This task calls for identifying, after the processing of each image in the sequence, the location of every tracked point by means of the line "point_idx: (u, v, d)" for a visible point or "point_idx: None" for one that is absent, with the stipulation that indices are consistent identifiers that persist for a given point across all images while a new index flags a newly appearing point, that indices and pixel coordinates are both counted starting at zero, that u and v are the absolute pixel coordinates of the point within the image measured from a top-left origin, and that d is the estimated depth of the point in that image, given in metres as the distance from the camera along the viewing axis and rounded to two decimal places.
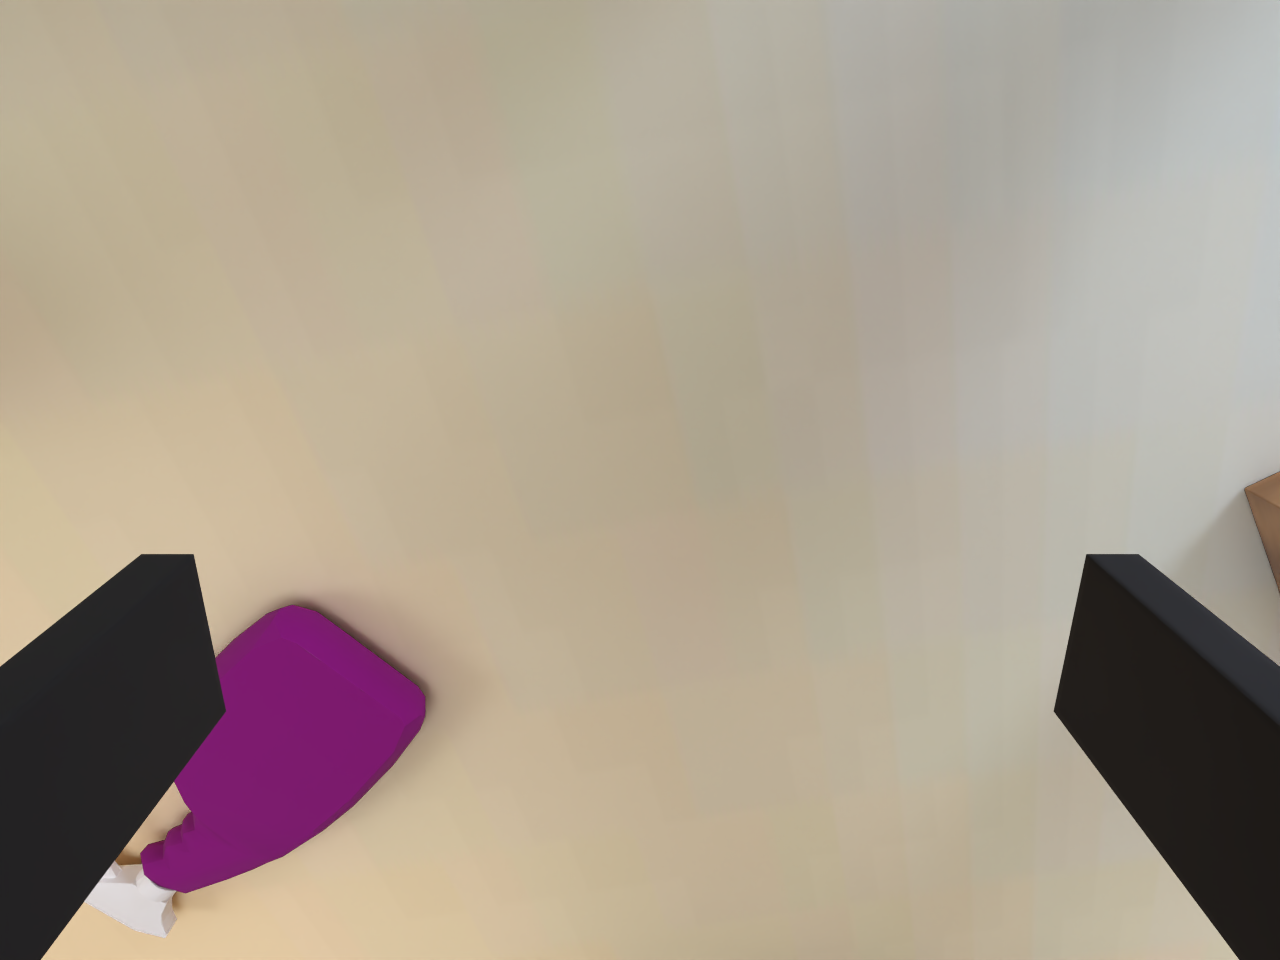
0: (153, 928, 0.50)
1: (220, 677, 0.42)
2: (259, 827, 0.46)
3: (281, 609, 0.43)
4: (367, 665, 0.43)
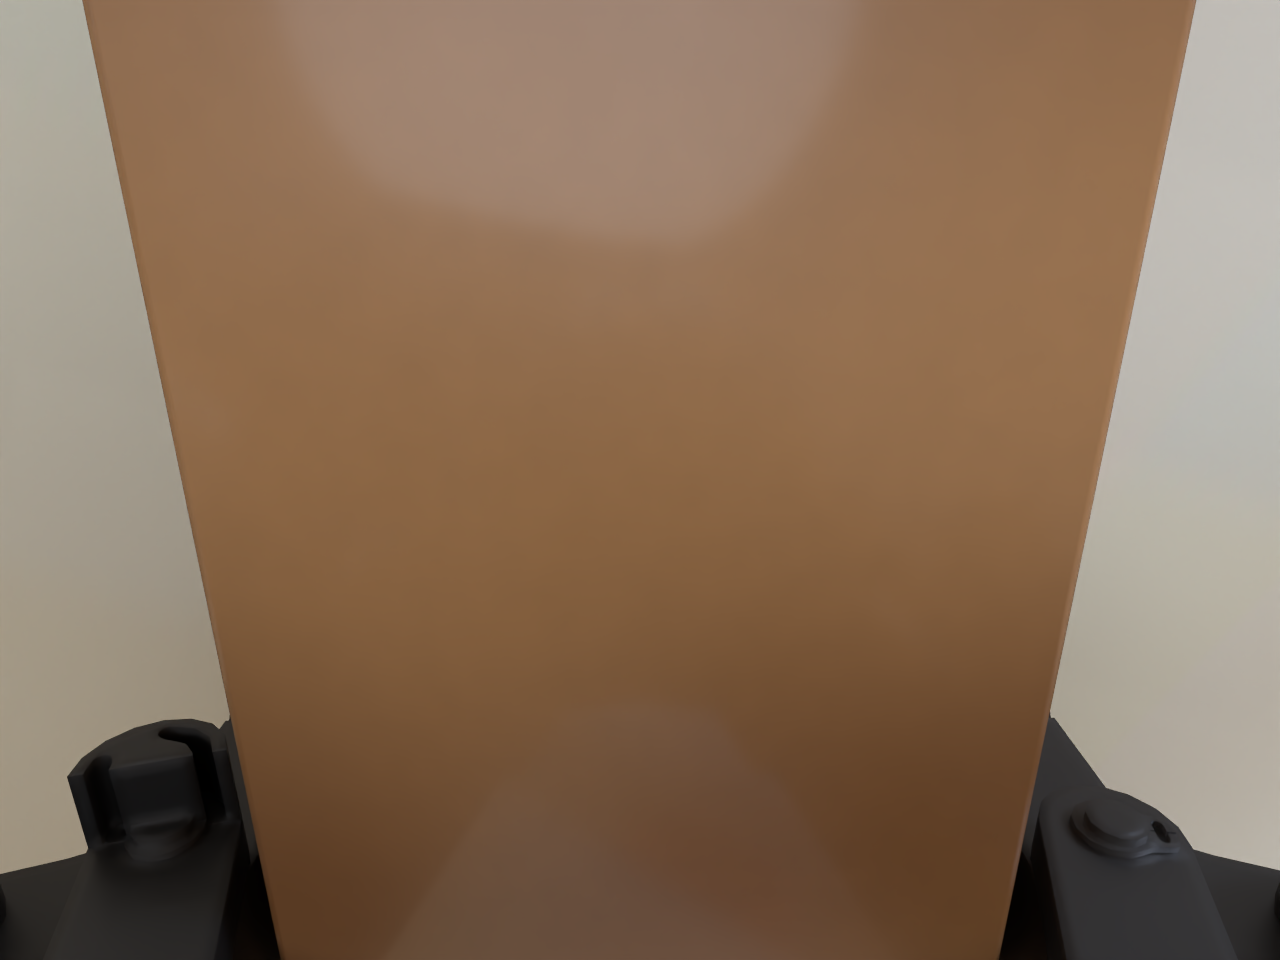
0: None
1: None
2: None
3: None
4: None
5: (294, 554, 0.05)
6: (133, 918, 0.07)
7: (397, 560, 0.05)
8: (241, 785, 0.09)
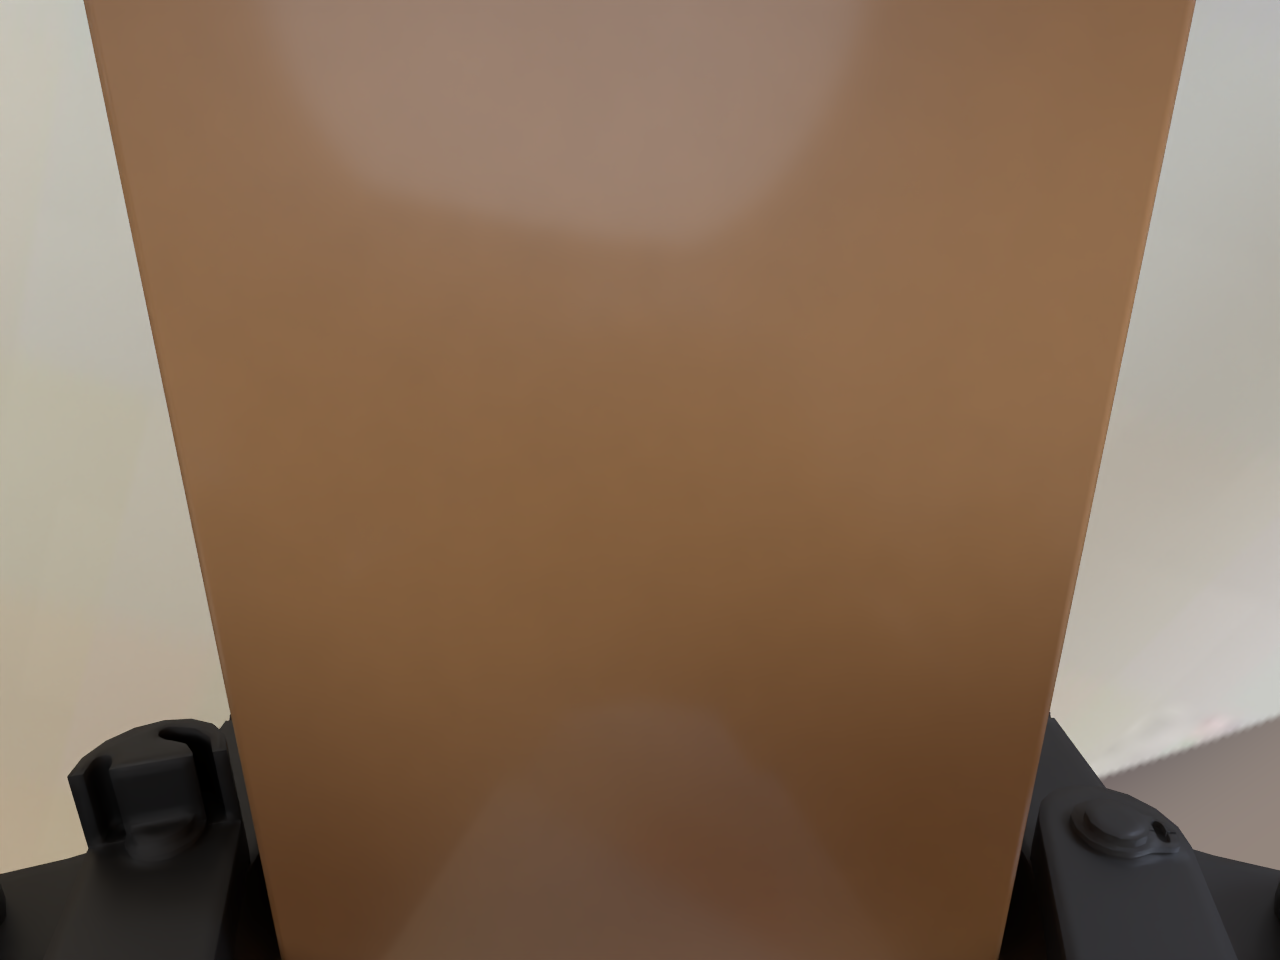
0: None
1: None
2: None
3: None
4: None
5: (295, 554, 0.05)
6: (133, 918, 0.07)
7: (399, 560, 0.05)
8: (241, 785, 0.09)
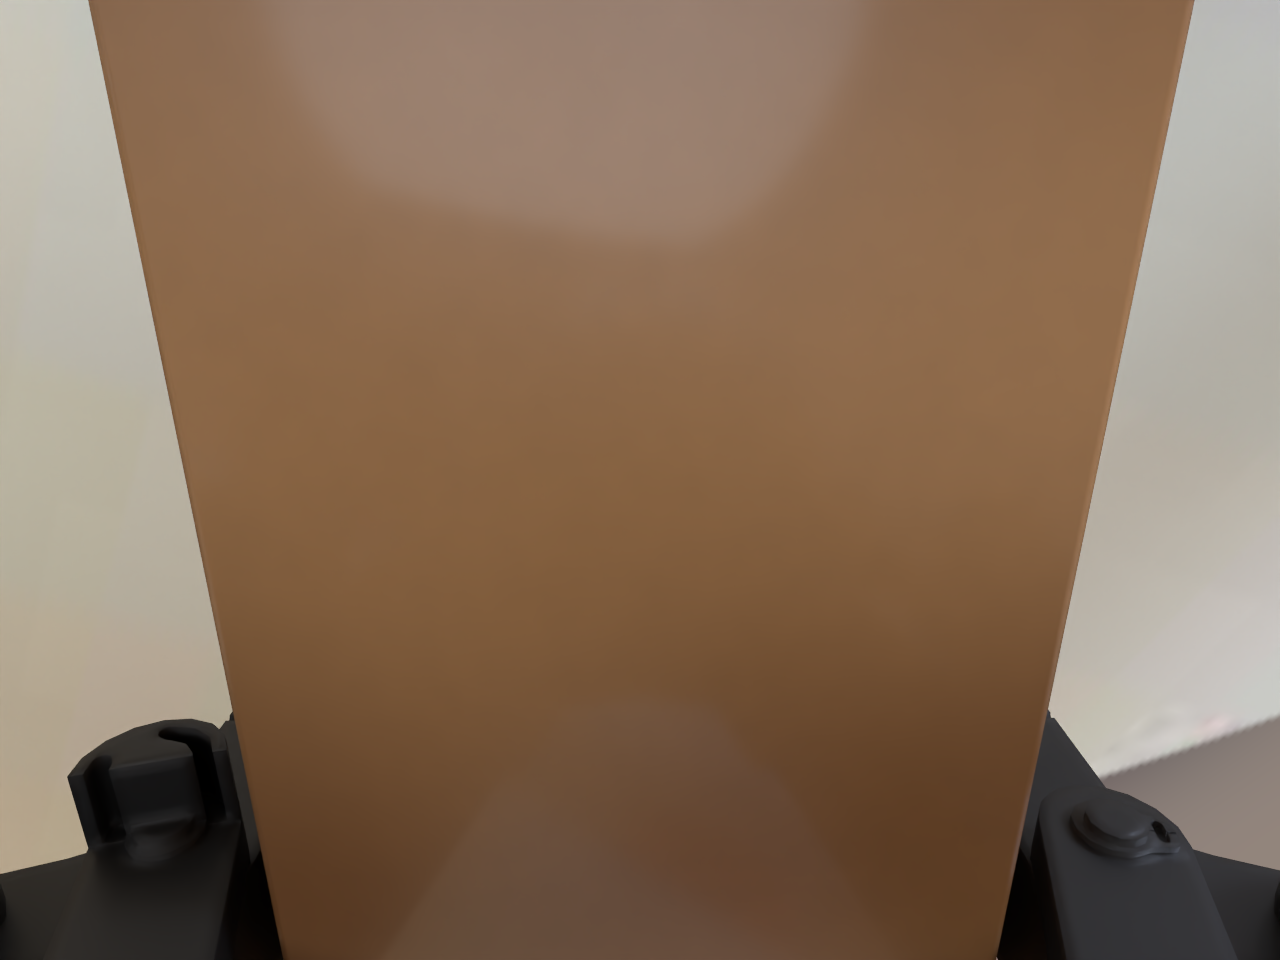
0: None
1: None
2: None
3: None
4: None
5: (297, 552, 0.05)
6: (133, 918, 0.07)
7: (400, 557, 0.05)
8: (241, 785, 0.09)
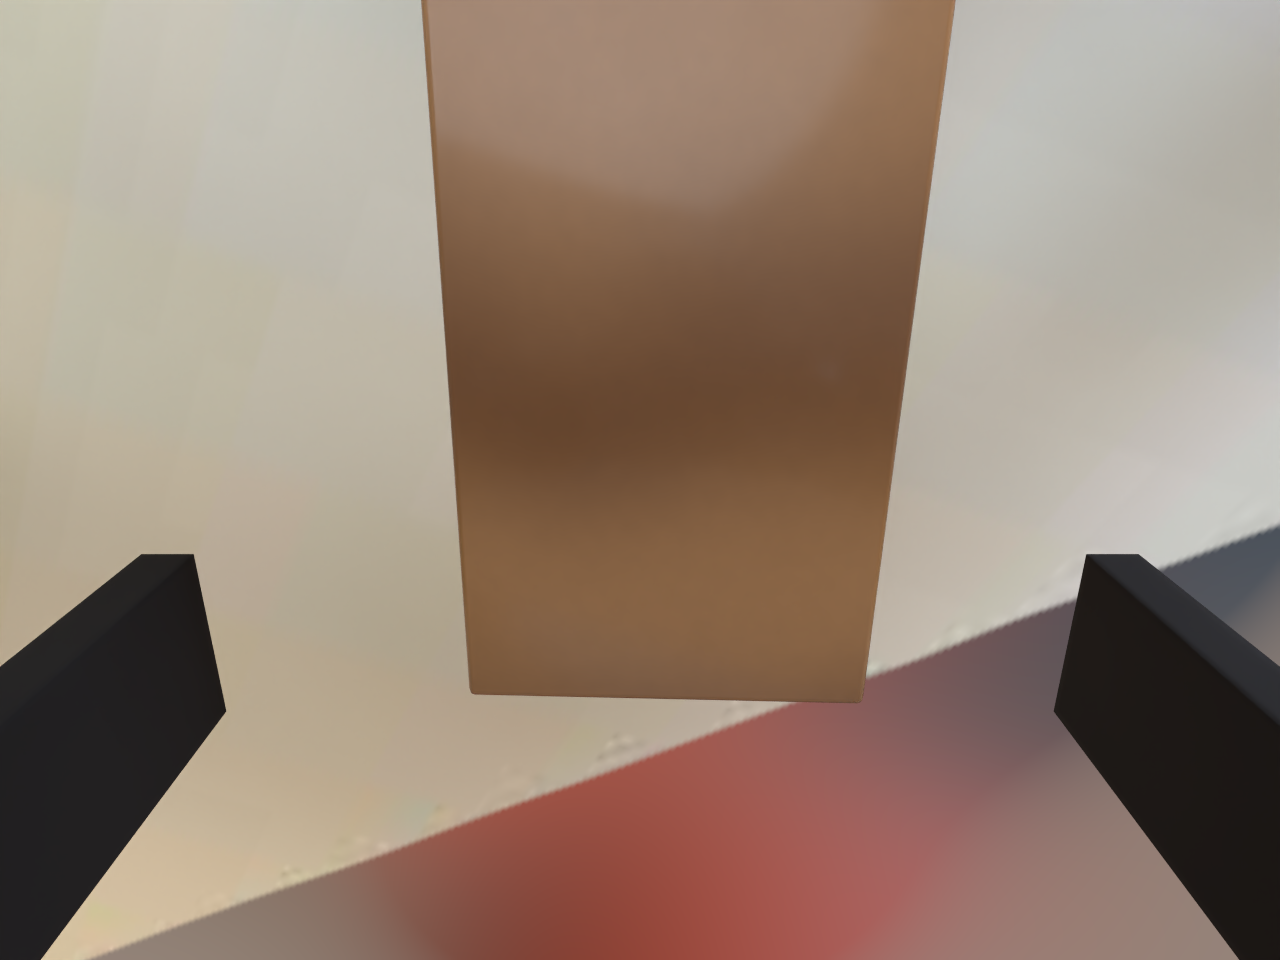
0: None
1: None
2: None
3: None
4: None
5: (487, 135, 0.09)
6: None
7: (545, 139, 0.09)
8: None
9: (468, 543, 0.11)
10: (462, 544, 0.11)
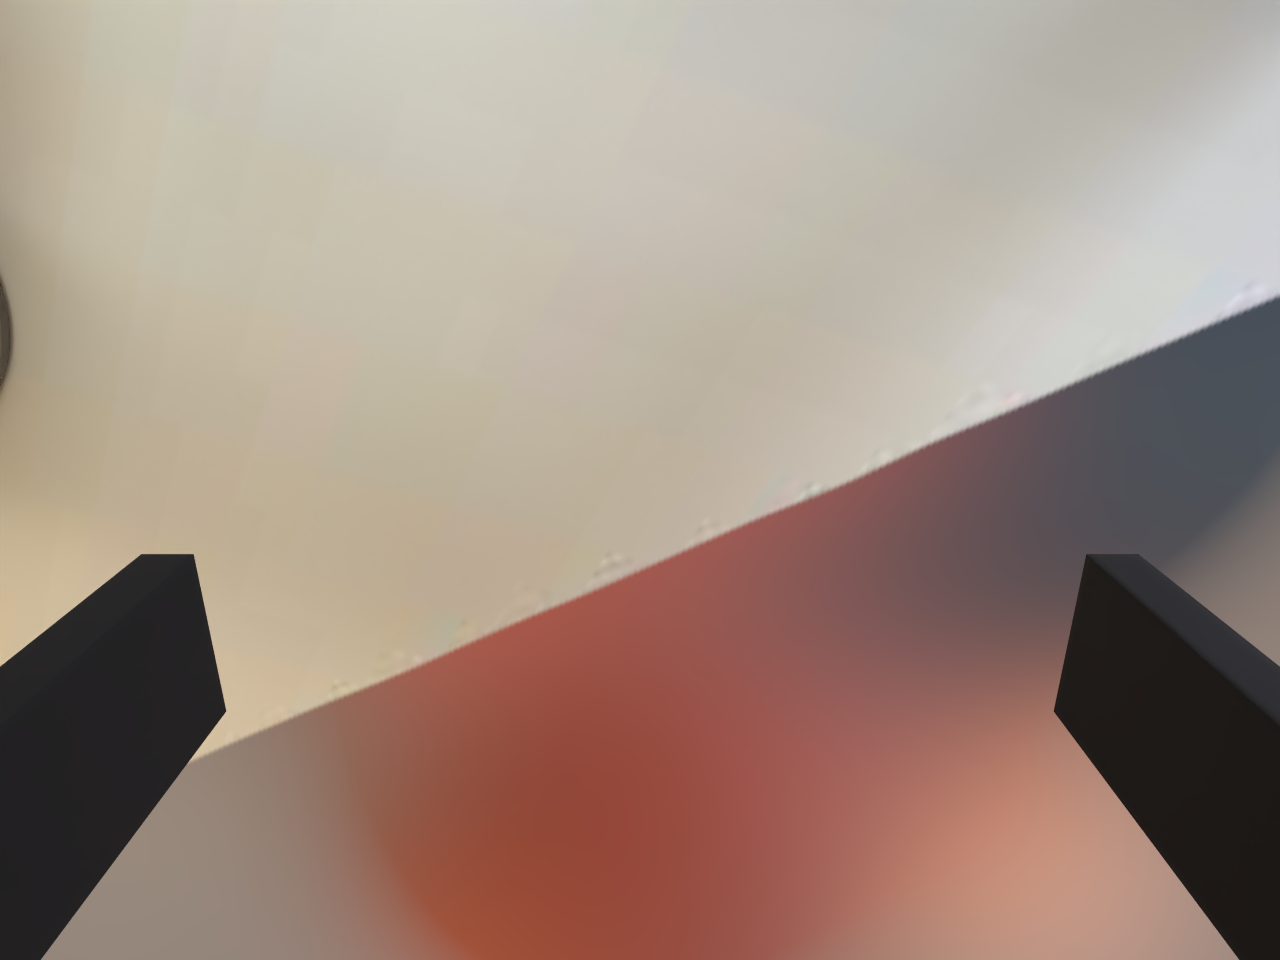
0: None
1: None
2: None
3: None
4: None
5: None
6: None
7: None
8: None
9: None
10: None
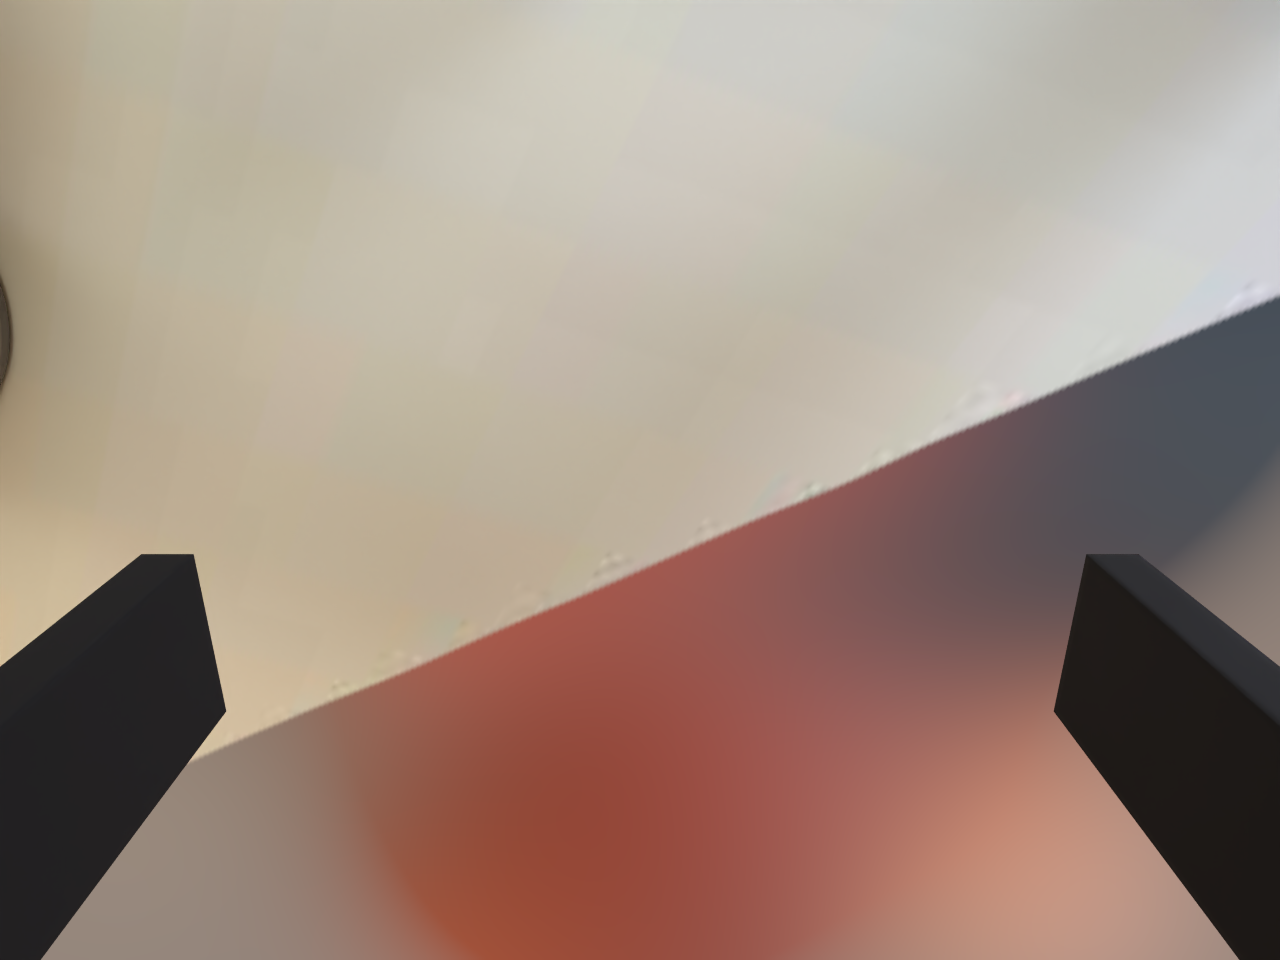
0: None
1: None
2: None
3: None
4: None
5: None
6: None
7: None
8: None
9: None
10: None
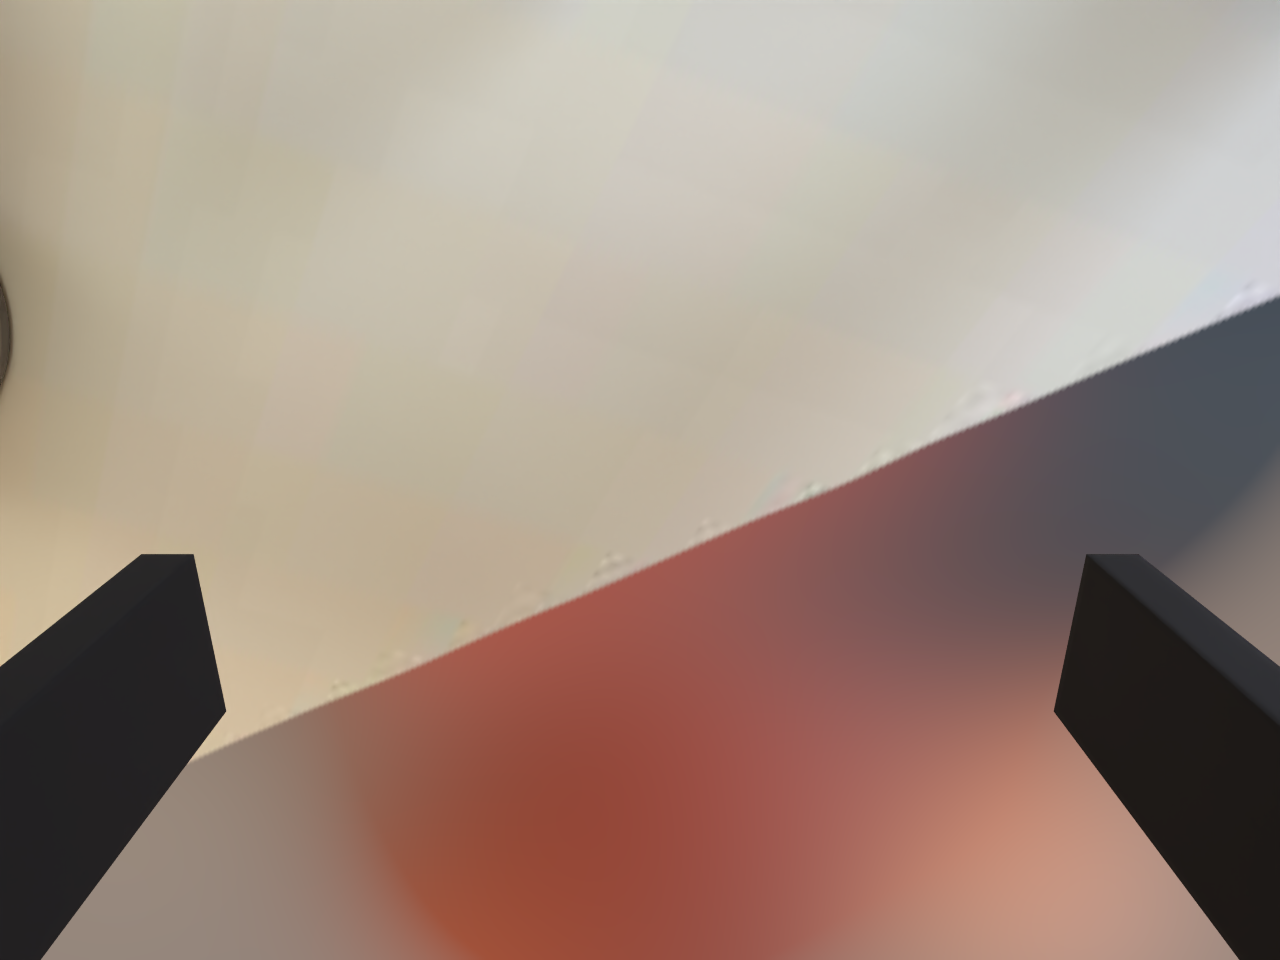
0: None
1: None
2: None
3: None
4: None
5: None
6: None
7: None
8: None
9: None
10: None
